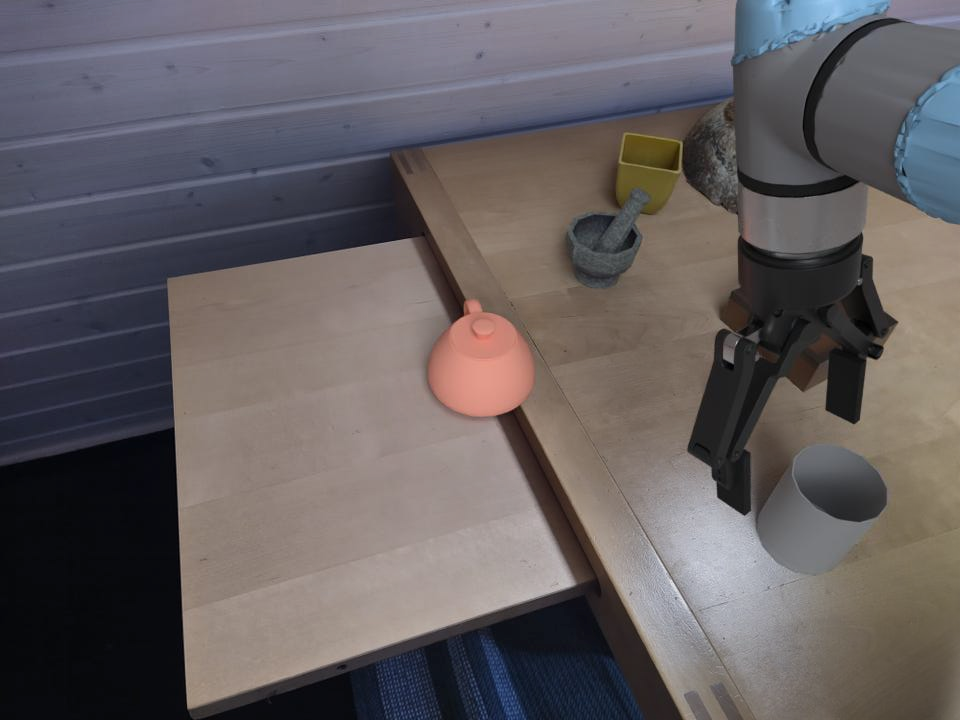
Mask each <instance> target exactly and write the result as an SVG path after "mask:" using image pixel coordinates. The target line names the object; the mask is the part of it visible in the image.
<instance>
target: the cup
mask: <svg viewBox="0 0 960 720" xmlns="http://www.w3.org/2000/svg"><path fill="white" fill-rule="evenodd" d="M888 507H889V487H888V485H887V483H886V481H885V480H884V477H883V476H882V473H881V472H880V470H879V469H878V468H876V467H875V466H874V465H873V464H872V463H871V462H870V461H869V460H868V459H866V457H865V456H864V455H862V454H859V453H858V452H856V451H853V450H851V449H849V448H847V447H845V446H843V445H836V444H829V443H823V442H820V443H817V444H813V445H810V446H806V447H805V446H804V447H803V449H801V450H800V451H799V453H798V454H796V455H795V456H794V458H793V459H792V461H791V462H790V464H789V465H788V467H787V469H786V470H785V471H784V473H783V475H782V476H781V478H780V480H779V481H778V482H777V484H776V486H775V487H774V489H773V491H772V492H771V494H770V496H769V497H768V498H767V500H766V502H765V504H764V505H763V506H762V508H761V510H760V512H759V513H758V516H757V517H758V518H757V523H756V532H757V534H758V535H757V536H758V538H759V540H760V543H761V546H762V547H763V548H764V550H765V551H766V552H767V553H768V554H769V555H770V556H771V558H773V560H774V561H775V562H776V563H777V564H779V565H781V566H783V567H785V568H787V569H788V570H790V571H792V572H794V573H797V574H803V575H810V576H819V575H822V574H826V573H829V572H832V571H833V570H834V569H835V568H836V567H837V566H838V565H839V563H841V561H842V560H843V559H844V558H845V557H846V555H847V554H849V552H850V551H851V550H852V549H853V548H854V547H855V545H856V544H857V543H858V542H859V540H860V539H862V538H863V536H864V535H865V534H866V533H867V532H868V531H869V530H870V529H871V527H872V526H873V525H874V524H875V523H876V522H877V520H878V519H879V518H880V517H881V516H882V515H883V513H884V512H885V511H886V509H887V508H888Z"/></svg>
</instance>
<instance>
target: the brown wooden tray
mask: <svg viewBox="0 0 960 720" xmlns="http://www.w3.org/2000/svg"><path fill="white" fill-rule="evenodd" d="M837 305H838V306H839V307H840V308H841V311H842V312H844V313H845V314H846V312H845V310H844V307H843V305H842V302H841V300H839V301H838V302H837ZM749 312H750V302H749V300H748V298H747V296H746V295H745V293H744V291H743V290H742V288H741V286H740V287H738V288H735V289H733V290H732V291H731V292H730V294H729V297H728V300H727V302H726V304H725V306H724V310H723V312H722V315H721V317H720V320H721V321H722V323H724V324H725V325H726V326H727V327H728V328H729V329H731V330H732V332H736V331H738V330H740V329H742V328H743V327H745V326H746V321H747V318H748V315H749ZM884 313H885V316H886V319H887V322H888V324H889V332H888V334H887V335H886V336H885V337H884V338H883V339H880V338H876V339H875V340H874V341H873V342H874V343H876V344H878V345H881V346H883V347H884V346H885V344H886V343H887V341H888V340H889V338H890V336H891V335H892V333H893V332H894V330H895V329H896V328H897V325H899V323H900V321H898V320H897V319H896V318H894V317H893V316H892V315H890V314H889V313H888V312H886V311H885V310H884ZM846 315H847V314H846ZM835 347H836V348H838V349H841V350H842V346H840V345H838V344H837V343H835V342H834V341H833V340H832V339H830V338H829V337H828V336H827V335H825V334H824V333H822V334H821V339H819V340H818V341H817V342H815V343H814V344H812V345H809V346H807V347H806V348H805V349H804V350H803V351H802V352H801V353H800V354H799V355H798V356H797V357H796V359H795V361H794V363H793V365H792V367H791V369H790V371H789V373H788V375H787V376H786V377H785V378H787V379H788V380H789V381H790V382H791V383H792V384H793V385H795V386H796V387H797V388H798V389H799V390H800V391H801V392H802V393H805V392H807V391H809V390H810V389H812V388H813V387H815V386H818V385H819V384H821V383H823V382H824V381H826V380H828V366H829V353H830V351H831V350H833V349H834V348H835ZM757 353H758V354H759V355H760V356H761V357H763V358H765V359H767V360H769V361H772V362H774V363H776V362H777V361H778V359H779V357H778V356H776V355H774V354H772V353H769V352H767V351H766V350H764V349H763V348H762V347H761V346H760V345H759V347H758V349H757Z"/></svg>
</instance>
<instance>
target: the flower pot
mask: <svg viewBox="0 0 960 720" xmlns="http://www.w3.org/2000/svg"><path fill="white" fill-rule="evenodd" d="M683 143H684V142H683V141H682V140H678V139H672V138H666V137H660V136H654V135H647V134H641V133H636V132H635V133H634V132H623V134H622V139H621V146H620V152H619V156H618V161H617V169H616V181H615V196H616V200H617V203H618V206H619V208H620V209H622V207H623V206H624V204H625V203H626V202H627V200H628V199H629V197H630V192H631V191H632V189H633V188H639V189H641V190H643V191H645V192H646V193H648V194H649V195H650V197H651V200H650V201H649V203H648V204H646V205H645V206H644V208H643V209H642V211H641V213H643V214H648V215H655V214H656V213H658V212H659V211H660V210H661V209H662V208H664V207H665V205H666V204H667V203H668V201H669V200H670V198H671V196H672V193H673V191H674V189H675V187H676V184H677V183H678V180H679V177H680V176H681V173H682V163H683V160H682V159H683V149H684V148H683V147H684V144H683Z"/></svg>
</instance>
